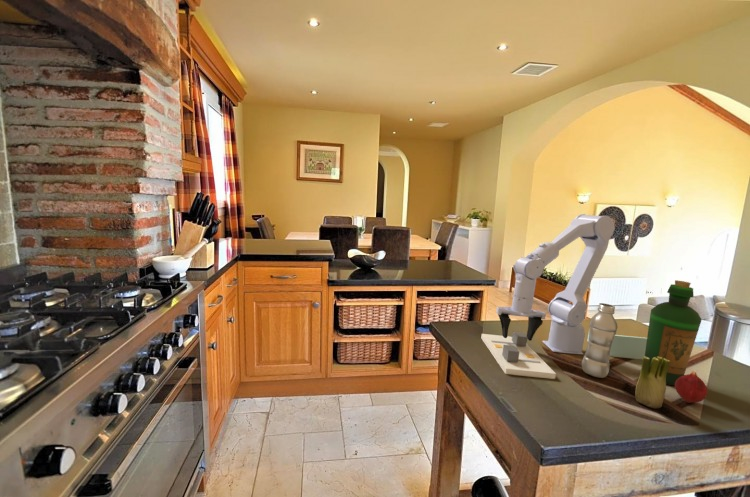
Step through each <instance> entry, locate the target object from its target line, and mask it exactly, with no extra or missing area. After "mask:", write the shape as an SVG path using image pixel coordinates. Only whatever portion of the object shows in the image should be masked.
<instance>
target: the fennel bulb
mask: <svg viewBox="0 0 750 497" xmlns="http://www.w3.org/2000/svg"><path fill="white" fill-rule="evenodd" d="M662 359H663V358H662V357H658V356H657V358H655V357H654V358H652V361H651V364H650V367H649V361H650V359H649V358H648V357H643V359H642V363H641V369H640V373H639V377H638V379H637V383H636V386H635V394H634V396H635V400H636V402H637V403H639V404H641V405H643V406H646V407H648V408H650V409H657V410H658V409H660V408H662V407H663V403H664V399H665V396H666V390H667V384H666V374H667V370H668V367H669V364H670V360H667V359H663V360H662Z"/></svg>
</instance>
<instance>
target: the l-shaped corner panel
mask: <svg viewBox="0 0 750 497" xmlns="http://www.w3.org/2000/svg"><path fill="white" fill-rule="evenodd" d="M588 341H589V332H588V333H587V340H586V342H588ZM646 343H647V337H644V336H642V337H641V336H632V335H621V334H615V336H614V339H613V342H612V346H611V350H610V357H614V358H615V357H616V358H623V359H624V358H626V359H635V360H643V357H645V350H646Z"/></svg>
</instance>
